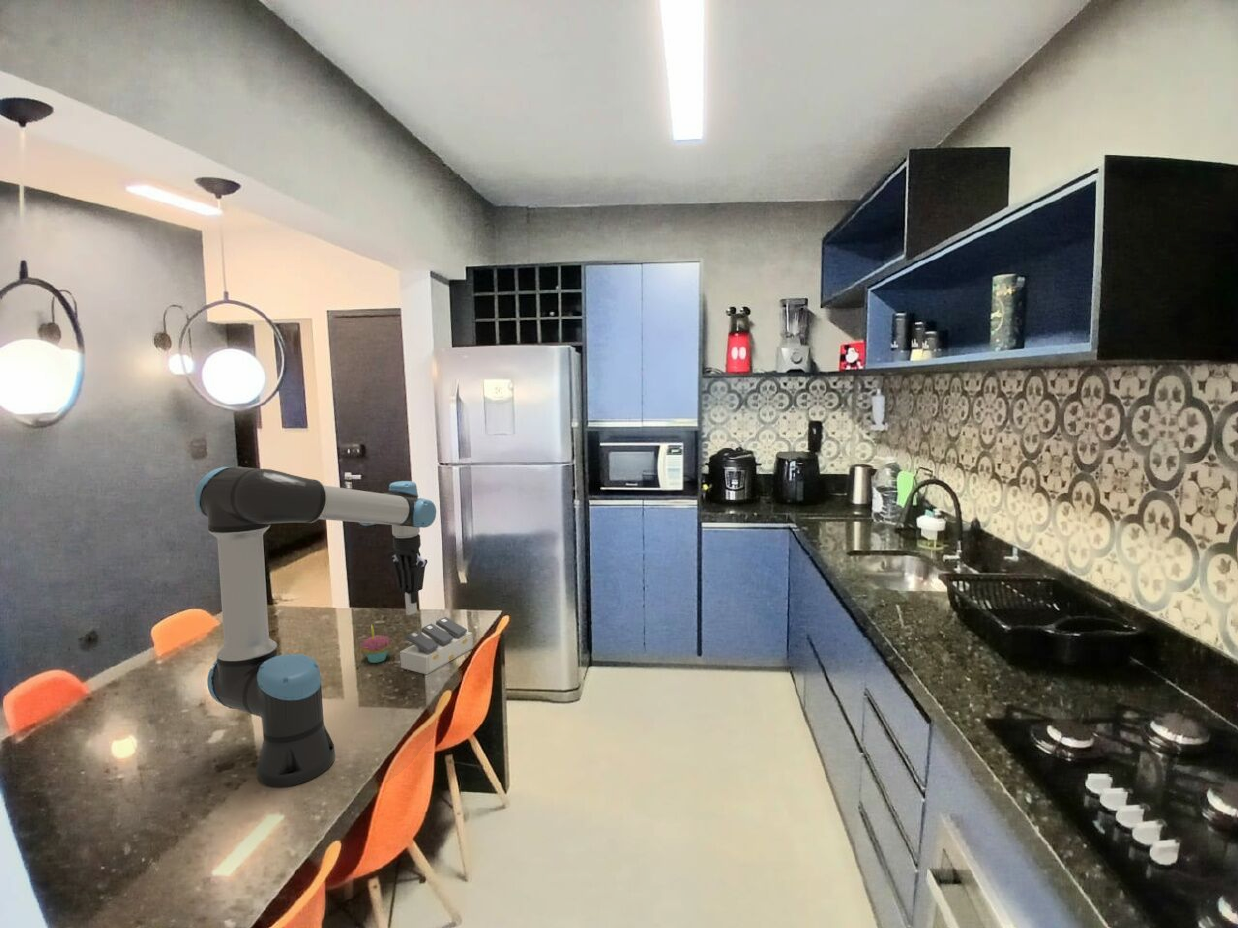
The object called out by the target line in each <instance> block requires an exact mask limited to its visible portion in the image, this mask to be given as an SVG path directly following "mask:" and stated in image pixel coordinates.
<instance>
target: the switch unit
mask: <svg viewBox="0 0 1238 928" xmlns="http://www.w3.org/2000/svg"><path fill="white" fill-rule="evenodd" d="M442 630H443V631H444V632H446V633H448V634H449V635H451V636H453V640H452V641H450V642H448V643H446V644H445V645H442V644H440V643H439V642H437V641H436V640H434V639H432V638H431V637H429V636H427V638H429V639H431V640H432V641H434V642H435V643H437V644H439V645H438V648H437V649H435V650H433V651H431V652H430V653H427V652H425V651H424V650H422V649H420V648H419V647H417V646H416V645H414V644H412V645H410V646H408V647H407V648H404V649H403V650H400V651H399V653H400V654H399V655H400V656H399V657H400V668H401V669H405V670H408V671H413V672H416V673H420V674H424V675H428V674H430V673H432V672H434V671H436V670H438V669H439V668H441V667H443V666H445V665H446V664H447V663H449V662H451V661H453V660H455V659H457V658H458V657H460V656H462V655H464V654H465V653H467V652H469V651H471V650H472V649H474V638H473V637H474V636H473V635H474V634H473V632H470V631H467V632H466V633H465V634H463V635H462V636H460V637H458V638H457V637H456V636H454V635H452V634H451V633H449V632H447V631H446V630H444V629H442Z"/></svg>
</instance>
